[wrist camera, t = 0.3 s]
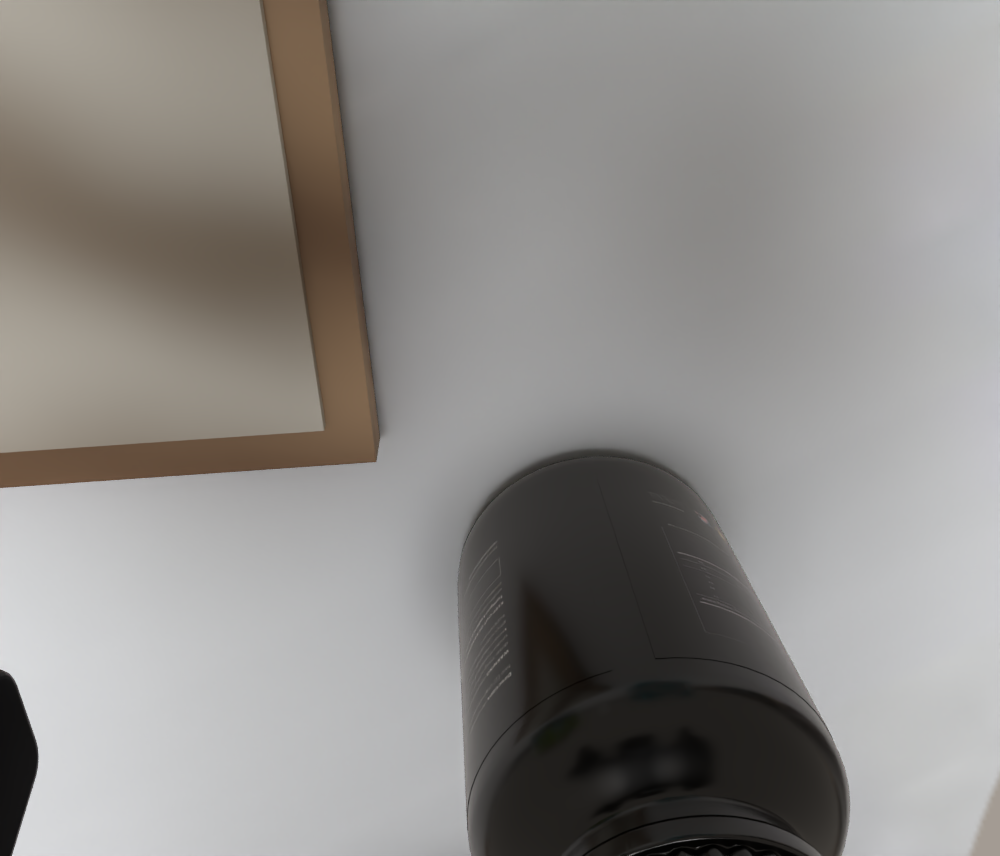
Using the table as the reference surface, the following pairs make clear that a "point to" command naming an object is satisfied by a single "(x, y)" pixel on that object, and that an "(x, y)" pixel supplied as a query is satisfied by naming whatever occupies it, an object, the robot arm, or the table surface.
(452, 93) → the table surface
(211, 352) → the picture frame
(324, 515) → the table surface
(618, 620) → the supplement bottle
